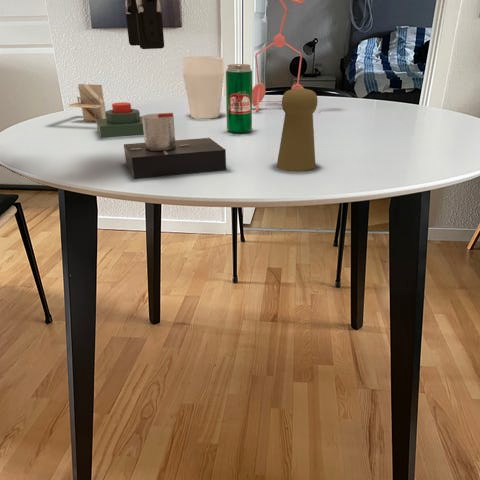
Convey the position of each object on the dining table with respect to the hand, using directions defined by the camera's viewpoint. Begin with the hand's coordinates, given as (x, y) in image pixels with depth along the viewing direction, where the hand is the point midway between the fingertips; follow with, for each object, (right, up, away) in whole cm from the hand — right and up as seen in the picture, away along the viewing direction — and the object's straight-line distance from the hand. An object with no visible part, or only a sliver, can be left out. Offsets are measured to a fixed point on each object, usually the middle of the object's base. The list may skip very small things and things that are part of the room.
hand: (146, 46), depth 70 cm
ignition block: (-10, -1, +30) cm, 32 cm away
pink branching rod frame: (+23, +15, +55) cm, 62 cm away
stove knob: (+1, -12, +6) cm, 14 cm away
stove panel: (+3, -14, +8) cm, 17 cm away
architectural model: (-19, +5, +40) cm, 45 cm away
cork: (+22, -15, +8) cm, 28 cm away
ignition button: (-10, +2, +28) cm, 30 cm away
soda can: (+13, -1, +31) cm, 33 cm away
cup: (+5, +9, +45) cm, 46 cm away
